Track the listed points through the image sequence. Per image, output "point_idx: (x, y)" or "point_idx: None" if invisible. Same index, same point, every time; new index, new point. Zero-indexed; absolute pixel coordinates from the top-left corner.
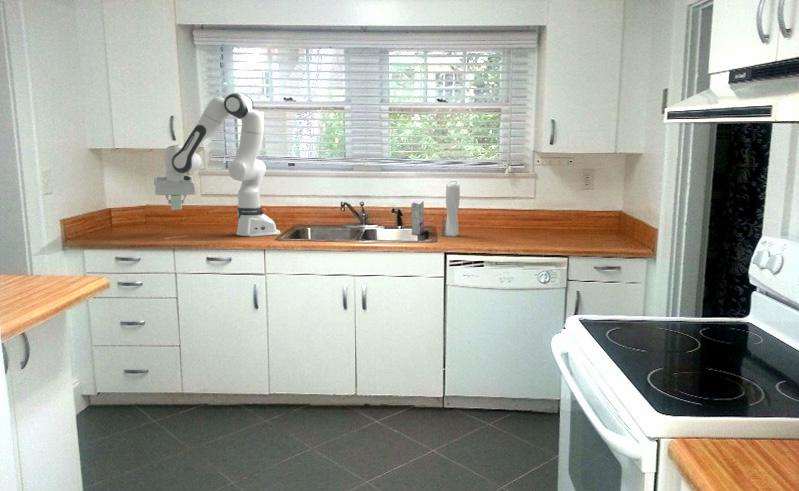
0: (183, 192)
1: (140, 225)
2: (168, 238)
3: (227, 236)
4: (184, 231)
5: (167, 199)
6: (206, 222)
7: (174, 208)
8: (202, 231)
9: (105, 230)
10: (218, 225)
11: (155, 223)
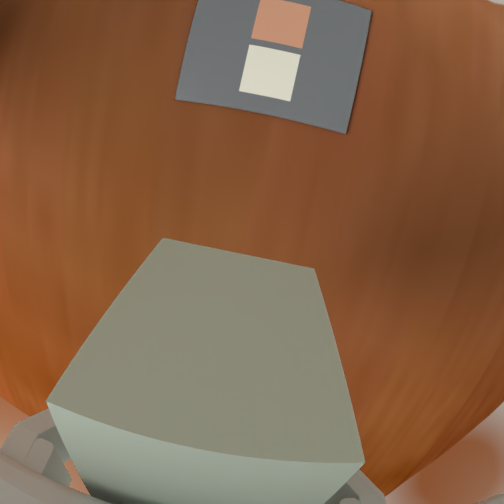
0: (3, 499)
1: None
2: (344, 18)
3: (16, 6)
4: None
5: None
6: None
7: (264, 266)
8: (89, 244)
9: (462, 425)
10: (46, 380)
11: None
